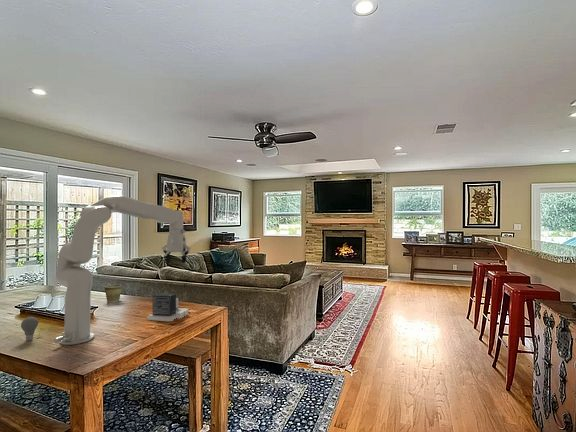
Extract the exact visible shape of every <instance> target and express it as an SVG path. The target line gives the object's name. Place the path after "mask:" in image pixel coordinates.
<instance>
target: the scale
mask: <svg viewBox="0 0 576 432" xmlns="http://www.w3.org/2000/svg"><path fill="white" fill-rule="evenodd" d="M189 313H190V309H188V308H184V307H183V308H182V307H178V310H176V313H175V314H173V315H171V316H162V315H152V314H153V313H152V314H149V315H148V316H146V320H147V321H158V322H160V321H161V322H169V321H171V322H173V321H175V320H179V319H178V318H181V319H183V318H185V317H187V316H188V315H189ZM187 314H188V315H187ZM186 315H187V316H186ZM184 316H185V317H184ZM182 317H183V318H182ZM176 318H177V319H176ZM174 319H175V320H174Z"/></svg>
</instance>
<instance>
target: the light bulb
mask: <svg viewBox="0 0 576 432" xmlns="http://www.w3.org/2000/svg"><path fill="white" fill-rule="evenodd" d="M38 326H39V319H37V318H36V317H35V316H28V317H26V318H24V319H23V320H22V321H21V323H20V327H21V330H22V331H23V332H24V335H25V341H32V340H34V334H35V332H36V329H37V327H38Z"/></svg>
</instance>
